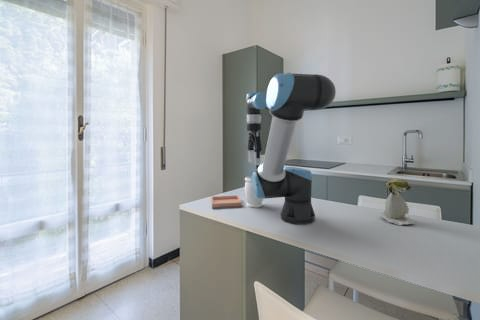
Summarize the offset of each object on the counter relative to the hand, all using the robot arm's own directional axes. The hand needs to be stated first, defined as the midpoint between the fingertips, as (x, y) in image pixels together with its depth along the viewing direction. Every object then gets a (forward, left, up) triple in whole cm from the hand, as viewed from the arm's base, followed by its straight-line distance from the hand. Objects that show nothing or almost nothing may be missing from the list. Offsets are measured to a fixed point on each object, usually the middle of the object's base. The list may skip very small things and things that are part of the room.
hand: (254, 163), depth 132 cm
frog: (-35, -57, -23) cm, 70 cm away
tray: (+4, +15, -23) cm, 27 cm away
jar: (-2, 0, -23) cm, 23 cm away
